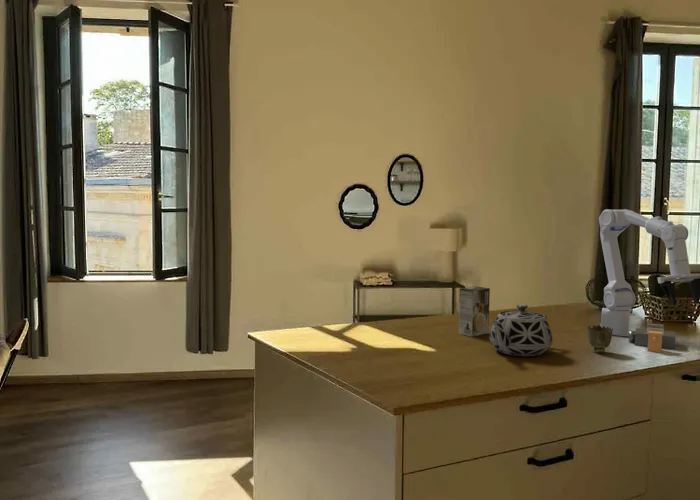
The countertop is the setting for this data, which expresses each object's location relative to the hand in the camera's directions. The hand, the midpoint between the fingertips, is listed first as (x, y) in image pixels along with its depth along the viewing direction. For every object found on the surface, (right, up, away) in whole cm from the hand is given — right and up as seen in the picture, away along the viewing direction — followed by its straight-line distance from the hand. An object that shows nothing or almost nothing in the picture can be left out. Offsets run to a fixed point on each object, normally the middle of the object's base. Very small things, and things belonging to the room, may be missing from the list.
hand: (685, 304), depth 224 cm
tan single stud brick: (-9, -15, +2) cm, 18 cm away
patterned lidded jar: (-54, -15, -4) cm, 56 cm away
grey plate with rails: (-5, -14, +11) cm, 19 cm away
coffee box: (-63, -12, +22) cm, 68 cm away
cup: (-28, -15, -2) cm, 32 cm away
